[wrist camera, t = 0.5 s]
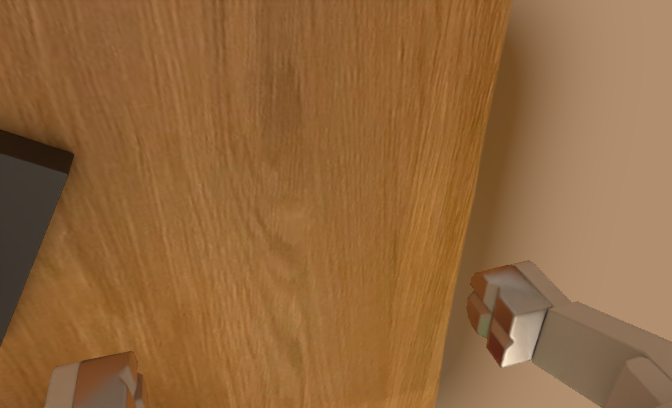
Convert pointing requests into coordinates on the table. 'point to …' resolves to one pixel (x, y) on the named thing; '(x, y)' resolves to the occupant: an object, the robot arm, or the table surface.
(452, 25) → the table surface
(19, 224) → the scale
